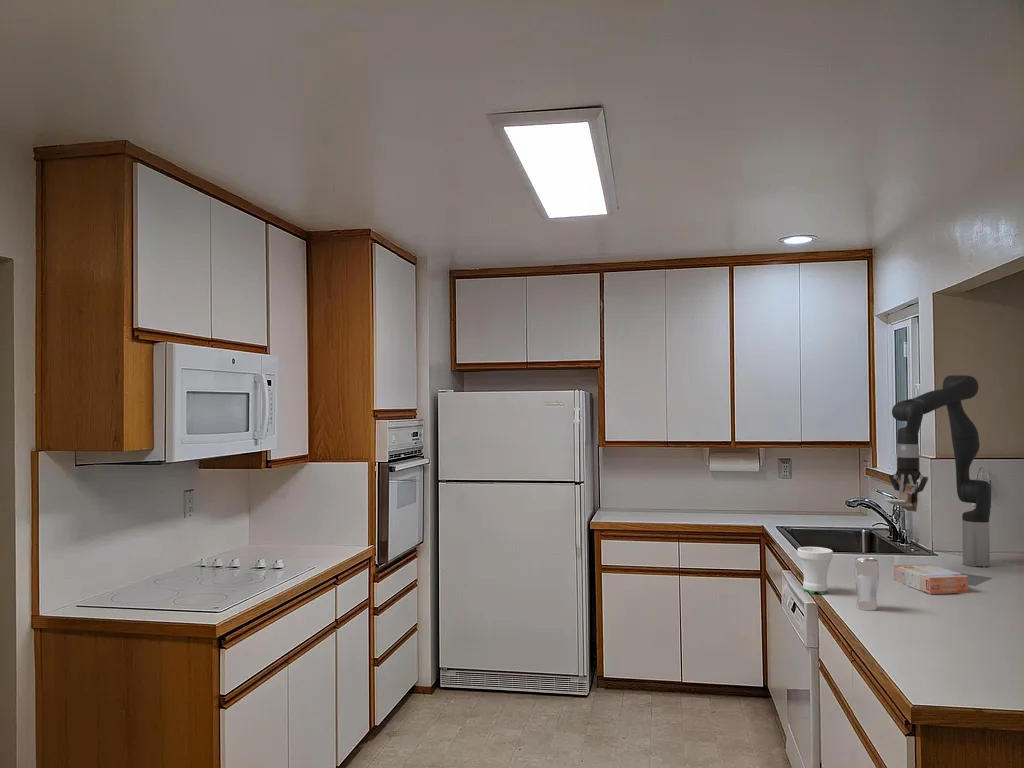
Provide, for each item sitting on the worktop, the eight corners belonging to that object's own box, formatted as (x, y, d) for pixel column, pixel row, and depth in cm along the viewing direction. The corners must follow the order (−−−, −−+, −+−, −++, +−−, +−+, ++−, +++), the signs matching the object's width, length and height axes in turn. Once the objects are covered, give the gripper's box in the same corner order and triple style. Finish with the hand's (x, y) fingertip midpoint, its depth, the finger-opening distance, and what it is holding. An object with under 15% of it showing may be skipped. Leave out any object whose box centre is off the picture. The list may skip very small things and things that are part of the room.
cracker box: (893, 582, 288) (929, 594, 267) (893, 564, 288) (929, 576, 267) (930, 580, 289) (969, 593, 268) (930, 563, 289) (969, 575, 269)
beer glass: (858, 604, 254) (858, 556, 255) (882, 608, 250) (881, 559, 250) (851, 608, 249) (851, 559, 249) (875, 612, 245) (875, 562, 245)
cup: (836, 596, 264) (835, 553, 265) (800, 595, 267) (800, 551, 267) (829, 589, 275) (829, 547, 276) (795, 587, 278) (795, 546, 278)
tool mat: (959, 574, 299) (959, 573, 299) (992, 579, 291) (992, 577, 291) (940, 582, 286) (940, 580, 286) (975, 587, 278) (975, 585, 278)
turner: (902, 510, 304) (903, 497, 305) (922, 512, 299) (923, 498, 300) (884, 499, 293) (886, 486, 294) (904, 501, 288) (906, 487, 289)
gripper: (931, 456, 297) (932, 503, 297) (892, 454, 307) (893, 500, 307) (924, 457, 292) (924, 505, 292) (884, 455, 302) (885, 502, 302)
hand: (908, 502), depth 299 cm, fingers closed on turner, 3 cm apart
